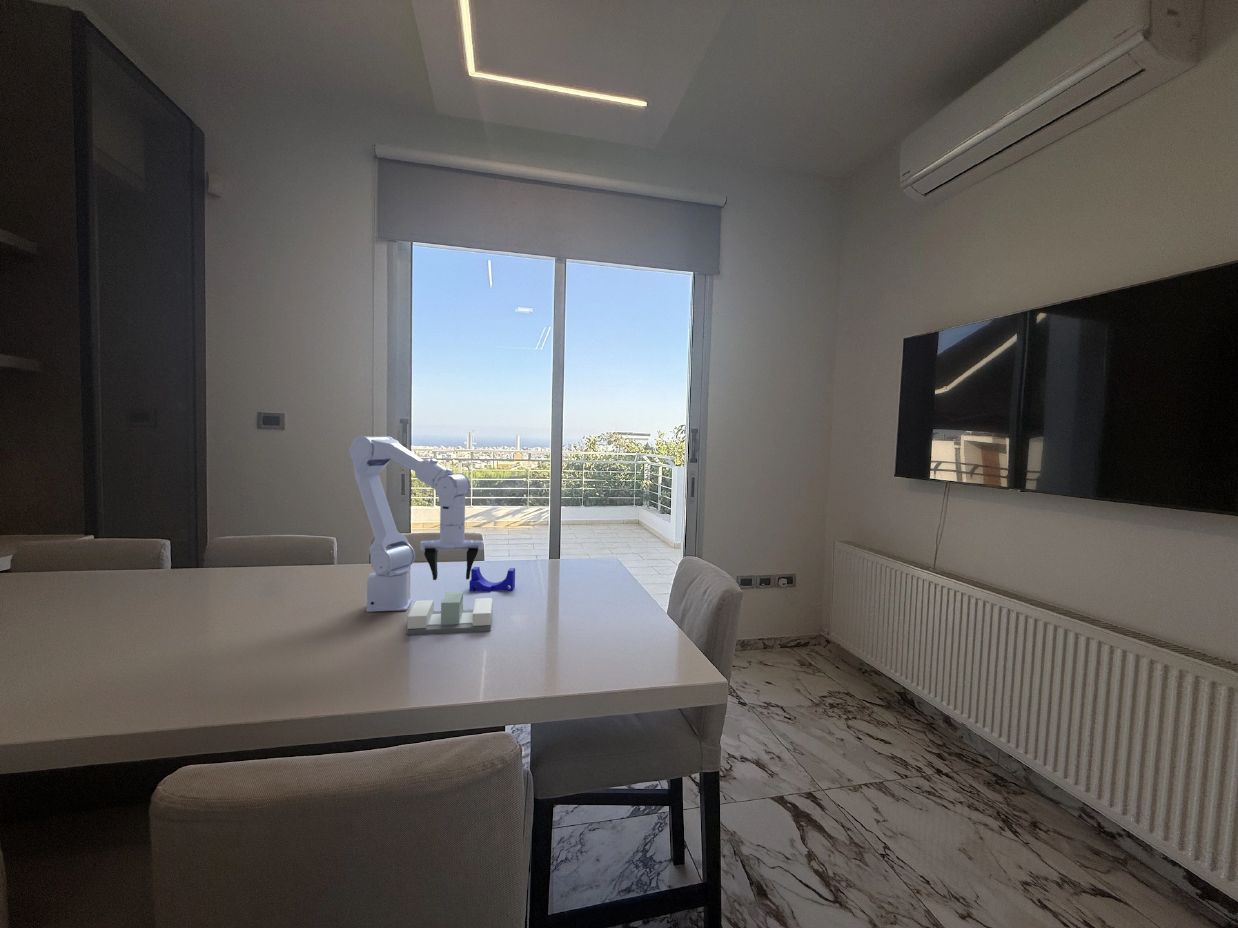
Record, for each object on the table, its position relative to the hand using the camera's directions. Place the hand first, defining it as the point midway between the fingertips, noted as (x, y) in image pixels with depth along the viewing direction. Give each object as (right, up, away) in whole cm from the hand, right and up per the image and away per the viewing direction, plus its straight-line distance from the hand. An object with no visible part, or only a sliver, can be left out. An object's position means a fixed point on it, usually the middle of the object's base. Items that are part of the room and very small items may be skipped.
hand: (451, 578), depth 128 cm
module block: (+1, -8, -4) cm, 10 cm away
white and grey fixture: (+2, -10, -4) cm, 11 cm away
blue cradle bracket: (+4, -9, +23) cm, 25 cm away
